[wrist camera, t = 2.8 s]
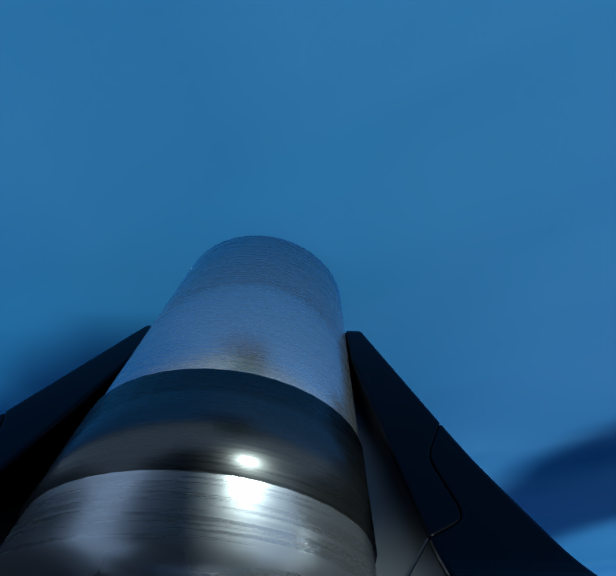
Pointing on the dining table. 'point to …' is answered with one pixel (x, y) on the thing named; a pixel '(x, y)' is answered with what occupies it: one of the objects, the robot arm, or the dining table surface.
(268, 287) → the steel lens
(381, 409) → the robot arm
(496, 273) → the dining table surface
